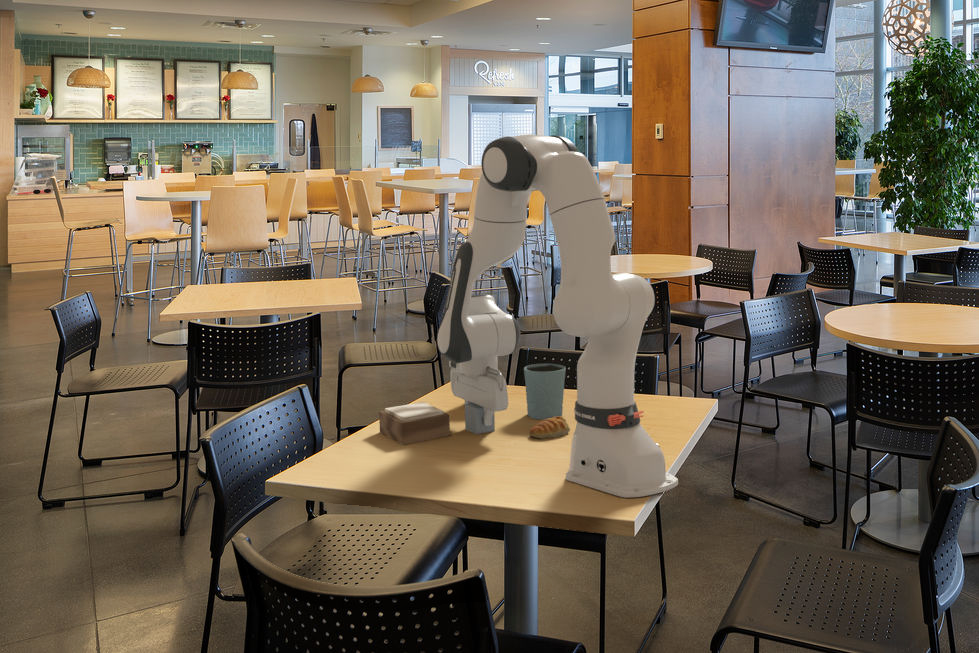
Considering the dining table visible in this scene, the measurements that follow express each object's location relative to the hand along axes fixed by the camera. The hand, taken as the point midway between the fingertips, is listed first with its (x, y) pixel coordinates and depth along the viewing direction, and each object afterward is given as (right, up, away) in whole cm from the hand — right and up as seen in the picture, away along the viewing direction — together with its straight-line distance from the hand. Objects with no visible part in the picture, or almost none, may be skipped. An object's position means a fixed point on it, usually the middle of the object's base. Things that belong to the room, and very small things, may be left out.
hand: (479, 422), depth 208 cm
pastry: (+16, -3, -4) cm, 17 cm away
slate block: (0, -2, 0) cm, 2 cm away
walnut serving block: (-15, -3, -2) cm, 15 cm away
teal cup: (+16, 0, +12) cm, 20 cm away
